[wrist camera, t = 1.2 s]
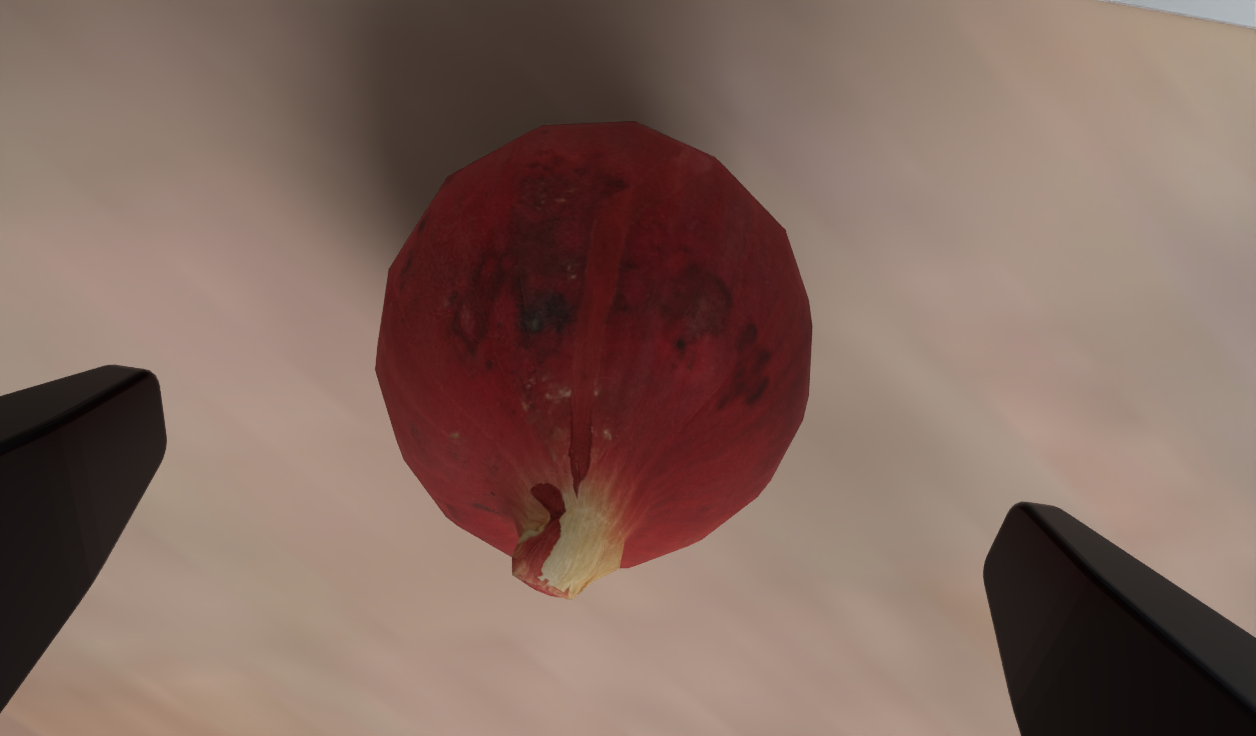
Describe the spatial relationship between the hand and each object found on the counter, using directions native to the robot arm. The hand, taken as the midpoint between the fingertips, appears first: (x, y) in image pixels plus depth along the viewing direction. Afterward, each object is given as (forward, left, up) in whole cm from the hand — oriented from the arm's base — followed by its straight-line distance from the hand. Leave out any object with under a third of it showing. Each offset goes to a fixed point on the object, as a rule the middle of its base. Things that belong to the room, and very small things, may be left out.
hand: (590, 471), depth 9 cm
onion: (0, 0, -7) cm, 7 cm away
